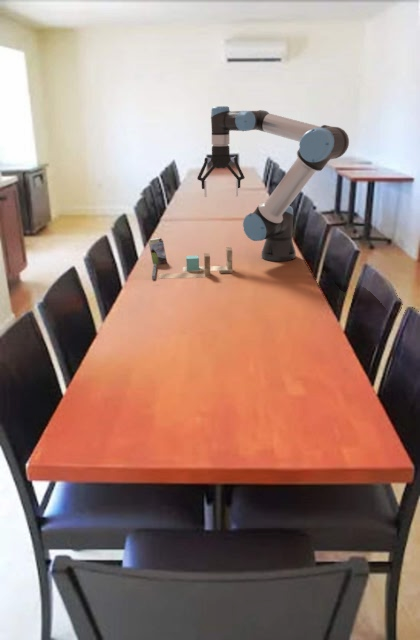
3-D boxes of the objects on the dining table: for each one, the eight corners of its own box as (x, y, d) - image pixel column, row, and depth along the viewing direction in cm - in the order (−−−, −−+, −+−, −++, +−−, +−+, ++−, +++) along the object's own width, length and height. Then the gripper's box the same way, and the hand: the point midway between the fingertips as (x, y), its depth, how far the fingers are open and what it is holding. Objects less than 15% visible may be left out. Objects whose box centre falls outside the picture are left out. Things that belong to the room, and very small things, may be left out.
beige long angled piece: (231, 267, 235) (231, 246, 232) (232, 272, 229) (232, 250, 226) (183, 269, 234) (182, 248, 231) (183, 274, 228) (182, 252, 225)
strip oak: (209, 274, 226) (209, 252, 223) (210, 279, 220) (210, 256, 217) (159, 276, 226) (158, 254, 222) (159, 281, 219) (157, 258, 216)
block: (198, 267, 233) (198, 255, 232) (199, 270, 229) (198, 258, 227) (186, 267, 233) (186, 255, 231) (186, 270, 229) (186, 258, 227)
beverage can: (164, 267, 238) (163, 239, 234) (148, 267, 240) (146, 239, 236) (168, 263, 244) (167, 236, 240) (152, 263, 246) (151, 236, 241)
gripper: (248, 144, 242) (248, 194, 250) (190, 145, 241) (192, 195, 249) (251, 145, 235) (250, 196, 243) (191, 146, 234) (192, 198, 242)
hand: (221, 196), depth 246 cm, fingers open, 13 cm apart
